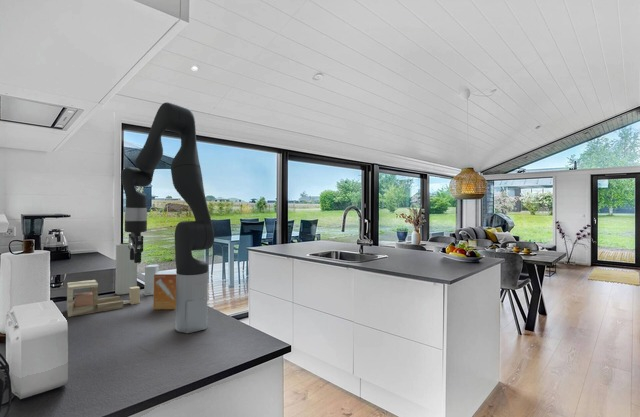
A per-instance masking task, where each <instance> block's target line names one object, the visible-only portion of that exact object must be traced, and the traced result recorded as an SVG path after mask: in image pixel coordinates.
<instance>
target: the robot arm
mask: <svg viewBox="0 0 640 417" xmlns="http://www.w3.org/2000/svg"><path fill="white" fill-rule="evenodd" d="M196 130H197V129H196V120H195V115H194V113H193V111H192V110H191V109H189V108H187V107H185V106H181V105H179V104H175V103H172V102H163V103H162V104H161V105H160V106H159V108H158V110H157V112H156V114H155V116H154V119H153V122H152V124H151V126H150V129H149V132H148V136H147V138H146V141H145V143H144V145H143V147H142V149H141V150H140V152H139V154H137V157H136V158H135V160H134V165H135V167H131V166H130V167H129V166H128V167H125V168H123V169H122V171H121V173H120V180H121V183H122V184H121V185H122V187H123V190H124V195H125V211H124V232H125V233H128V243H129V244H128V248H129V250H131V251H130V260H134V263H137V264H141V262H142V253H143V252H144V236H143V235H142V234H141V233H145V232H147V231H148V212H147V211H148V210H147V203H148V201H147V200H148V198H147V195H146V193H145V192H139V191H137V189H136V187H141V188H142V187H144V188H146V187H148V186H149V185H151V184H152V181H153V178H154V174H155V169H156V167H157V166H158V164H159V163H160V162H161V160H162V158H163V154H164V148H163V143H162V135H163V134H164V133H165V131H167V132H172V133H176V134H178V135H179V136H180V146H179V149H178V151H177V153H176V154H175V156H174V157H173V159H172V160H171V163H170V173H171V174H170V175H171V180H172V184H173V187H174V189H175V191H176V192H177V194H179V196H180V197H181V198H182V199H183V200H184V201H185V203H186V204H187V205H188V206H189V208H190V209H191V211H192V214H193V217H194V220H187V221H186V220H183V221H179V222H178V223H177V224H176V226H175V229H174V252H175V253H174V255H175V256H174V260H175V268H176V269H175V271H176V309H175V322H174V324H175V327H174V329H175V331H176V332H179V333H184V334H191V333H194V332H195V333H196V332H199V331H205V330H207V328H208V295H209V294H208V293H209V292H208V291H209V288H208V285H209V264H208V262H206V261H203V260H200V259H196V258H195V257H193V252H194V251H203V250H209V249H211V248H212V247H213V246H214V244H215V243H214V242H215V230H214V226H213V221H212V218H211V214H210V210H209V208H208V203H207V199H206V194H205V188H204V180H203V174H202V168H201V163H200V159H199V152H198V145H197V133H196Z"/></svg>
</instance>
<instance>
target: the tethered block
mask: <svg viewBox="0 0 640 417" xmlns="http://www.w3.org/2000/svg"><path fill="white" fill-rule="evenodd" d="M128 295H129V299H128V300H127V299H126V300H123V305H124V304H130V305H131V306H132V305H135V304H140V303H141V287H140V286H139V285H137V286H136V287H130V293H129V294H128ZM73 302H74V308H75V307H81V306H88V305H93V293H92V292H91V291H88V292H87V291H86V292H79V293H74V295H73Z"/></svg>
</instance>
